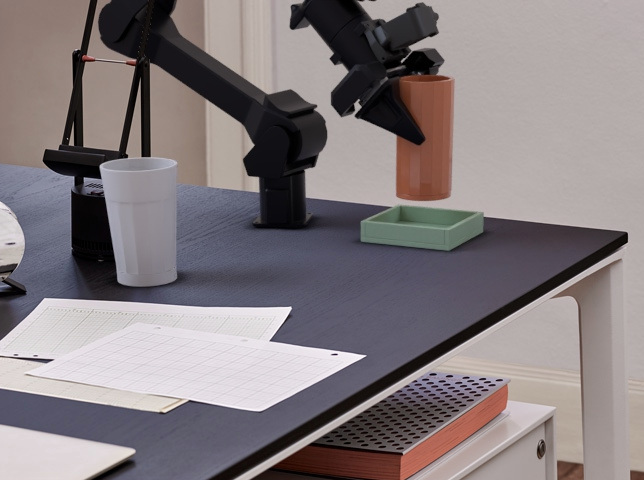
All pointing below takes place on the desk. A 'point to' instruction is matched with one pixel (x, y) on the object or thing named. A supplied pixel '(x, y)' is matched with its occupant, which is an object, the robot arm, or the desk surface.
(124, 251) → the cup
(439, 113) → the tumbler
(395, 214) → the tray
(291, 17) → the robot arm
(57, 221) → the desk surface
